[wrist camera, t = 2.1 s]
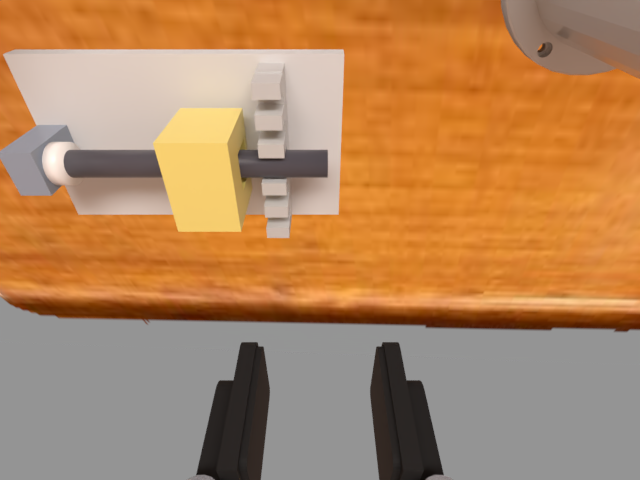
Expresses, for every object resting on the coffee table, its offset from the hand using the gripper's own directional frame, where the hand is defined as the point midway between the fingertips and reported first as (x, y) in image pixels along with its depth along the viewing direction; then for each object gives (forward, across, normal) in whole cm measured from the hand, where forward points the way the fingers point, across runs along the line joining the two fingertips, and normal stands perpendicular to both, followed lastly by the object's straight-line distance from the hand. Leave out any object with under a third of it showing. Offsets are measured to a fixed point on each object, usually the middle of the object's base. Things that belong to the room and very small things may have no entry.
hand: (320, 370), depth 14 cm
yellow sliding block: (+17, +7, 0) cm, 18 cm away
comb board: (+19, +9, 0) cm, 21 cm away
